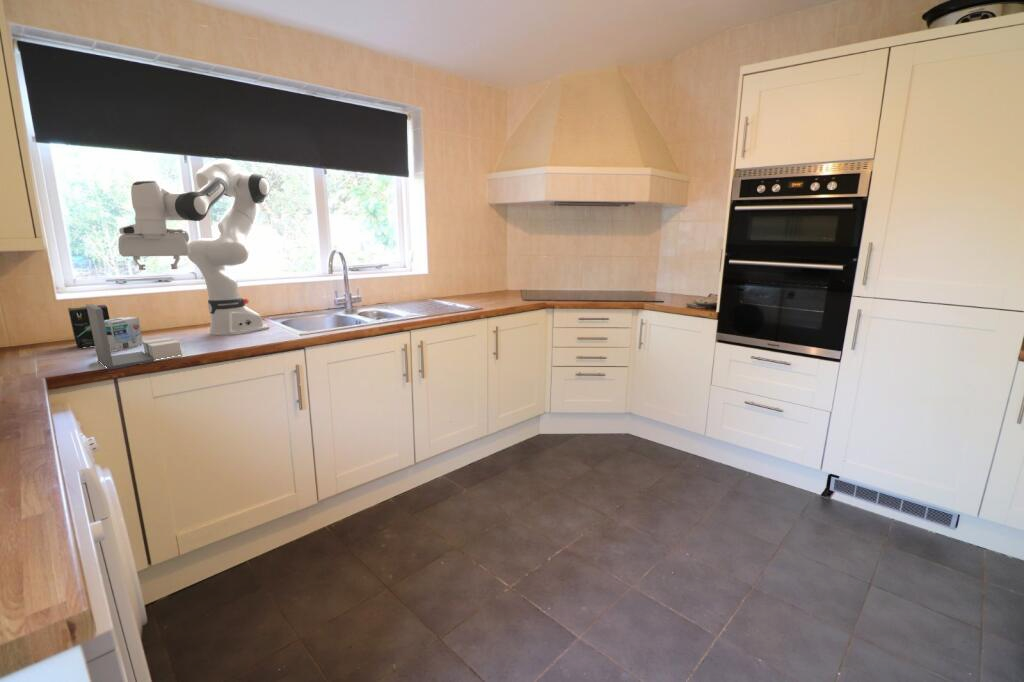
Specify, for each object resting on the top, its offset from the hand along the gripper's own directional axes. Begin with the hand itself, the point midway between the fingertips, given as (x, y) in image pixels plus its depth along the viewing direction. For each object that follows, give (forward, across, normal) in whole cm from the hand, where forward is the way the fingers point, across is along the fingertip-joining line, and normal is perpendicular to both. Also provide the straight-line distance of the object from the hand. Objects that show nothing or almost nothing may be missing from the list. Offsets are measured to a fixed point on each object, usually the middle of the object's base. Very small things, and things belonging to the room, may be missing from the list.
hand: (158, 269), depth 169 cm
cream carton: (+29, 0, +10) cm, 31 cm away
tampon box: (+29, +29, -21) cm, 46 cm away
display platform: (+29, +9, +14) cm, 34 cm away
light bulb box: (+29, +17, -11) cm, 36 cm away
